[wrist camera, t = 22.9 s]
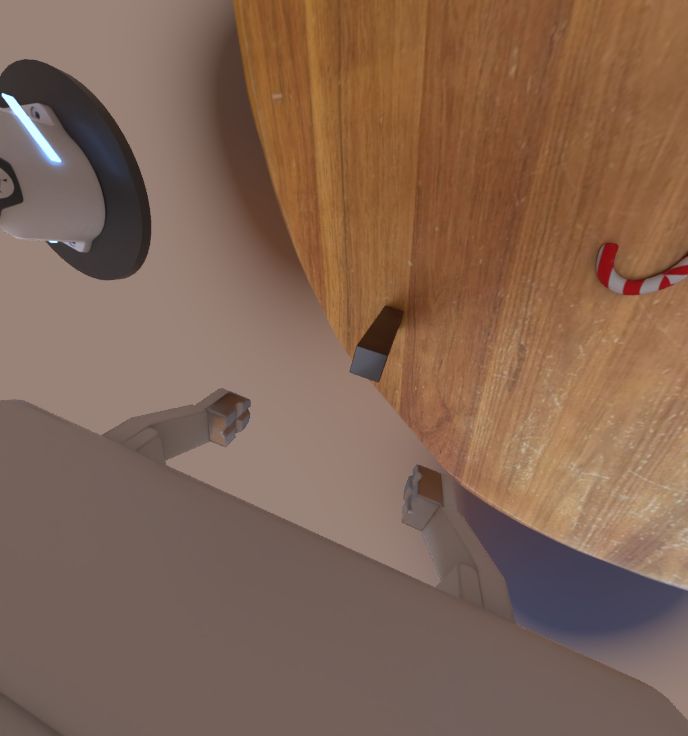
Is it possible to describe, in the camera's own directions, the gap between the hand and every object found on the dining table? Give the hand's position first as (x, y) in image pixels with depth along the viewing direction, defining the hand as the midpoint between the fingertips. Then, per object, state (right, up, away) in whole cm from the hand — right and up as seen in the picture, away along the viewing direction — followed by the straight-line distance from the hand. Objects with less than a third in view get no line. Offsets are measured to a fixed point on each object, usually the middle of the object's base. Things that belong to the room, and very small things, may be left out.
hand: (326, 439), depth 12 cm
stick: (+7, +9, +19) cm, 22 cm away
